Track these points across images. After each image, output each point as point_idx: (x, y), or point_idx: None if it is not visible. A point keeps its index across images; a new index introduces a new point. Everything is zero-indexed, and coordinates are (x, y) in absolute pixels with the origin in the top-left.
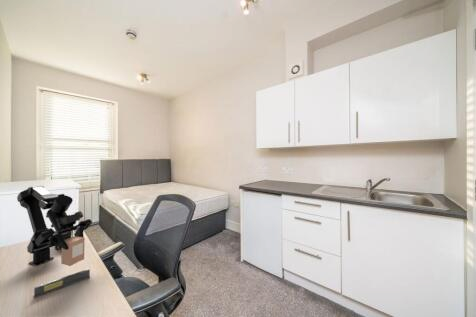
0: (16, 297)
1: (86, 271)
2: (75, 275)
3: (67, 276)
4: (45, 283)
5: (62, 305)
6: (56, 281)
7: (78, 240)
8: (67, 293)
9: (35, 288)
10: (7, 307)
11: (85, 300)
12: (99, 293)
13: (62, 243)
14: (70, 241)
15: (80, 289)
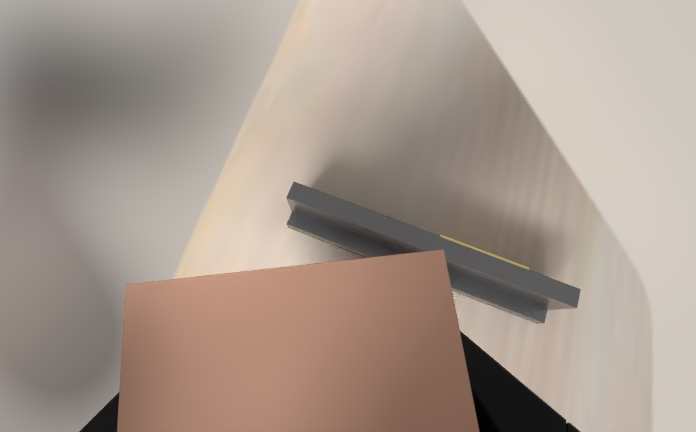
0: (604, 405)
1: (312, 191)
2: (371, 215)
3: (413, 233)
4: (523, 284)
5: (479, 93)
6: (470, 250)
7: (273, 272)
8: (433, 163)
9: (572, 287)
10: (642, 331)
11: (413, 37)
12: (357, 25)
13: (545, 412)
14: (408, 339)
15: (384, 135)
